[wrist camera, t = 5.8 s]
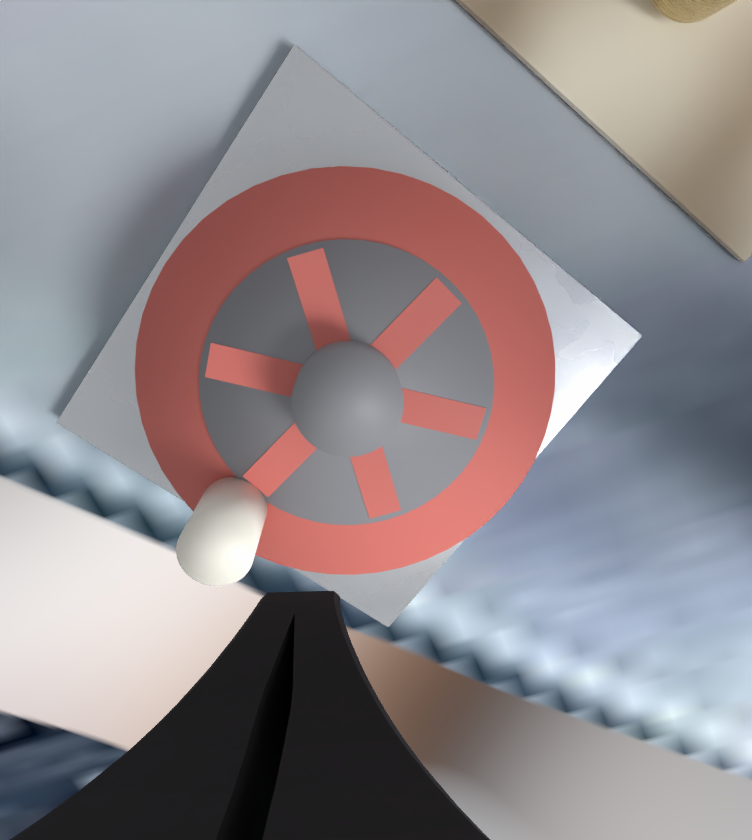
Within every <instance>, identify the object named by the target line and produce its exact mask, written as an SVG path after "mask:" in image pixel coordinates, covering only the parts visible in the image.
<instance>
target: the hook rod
mask: <svg viewBox="0 0 752 840" xmlns="http://www.w3.org/2000/svg"><path fill="white" fill-rule="evenodd" d="M652 1H653V3H654V4H655V6H656V8H657V9H658V10H659V11H660V12H661V13H662V14H663V15H664V16H665V17H667V18H669V19H670V20H673V21H675V22H679V23H695V22H699V21H702V20H704V19H706V18H708V17H710V16H712V15H713V14H715V13H717V12H719V11H720V10H722V9H724V8H725V7H727V6H729V5H731V4H732V3H734V2H736V1H737V0H652Z"/></svg>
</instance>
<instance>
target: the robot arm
mask: <svg viewBox="0 0 752 840" xmlns="http://www.w3.org/2000/svg"><path fill="white" fill-rule="evenodd" d="M11 840H490V839H489V838H488V837H487V836H486V835H485V834H484V833H483V832H482V831H481V830H480V829H479V828H478V827H477V826H476V825H475V824H474V823H473V822H472V821H471V820H470V818H469V817H468V816H467V815H466V814H465V813H464V812H463V811H462V810H461V809H460V808H459V807H458V806H457V805H456V804H455V802H454V801H453V800H452V799H451V798H450V796H449V795H448V794H447V793H446V792H445V791H444V789H443V788H442V787H441V786H440V785H439V784H438V782H437V781H436V780H435V779H434V778H433V776H432V775H431V774H430V773H429V772H428V770H426V768H425V767H424V766H423V765H422V763H421V762H420V760H419V759H418V758H417V756H416V755H415V754H414V752H413V751H412V750H411V748H410V747H409V746H408V744H407V743H406V741H405V740H404V738H403V737H402V735H401V734H400V733H399V731H398V730H397V728H396V727H395V725H394V724H393V722H392V720H391V719H390V717H389V716H388V714H387V712H386V711H385V710H384V707H383V706H382V704H381V702H380V701H379V699H378V697H377V695H376V693H375V691H374V690H373V688H372V686H371V684H370V682H369V681H368V678H367V676H366V675H365V672H364V670H363V668H362V666H361V664H360V662H359V659H358V657H357V655H356V653H355V650H354V648H353V646H352V643H351V640H350V638H349V635H348V632H347V629H346V626H345V623H344V620H343V616H342V612H341V606H340V596H339V595H338V594H337V593H336V592H335V591H311V592H276V593H267V594H266V595H265V596H264V597H263V598H262V599H261V600H260V602H259V603H258V605H257V606H256V607H255V609H254V610H253V612H252V613H251V615H250V616H249V618H248V619H247V620H246V622H245V623H244V625H243V626H242V627H241V629H240V630H239V631H238V633H237V634H236V635H235V637H234V638H233V639H232V641H231V642H230V643H229V644H228V646H227V647H226V648H225V649H224V651H223V652H222V653H221V654H220V656H219V657H218V658H217V659H216V661H215V662H214V663H213V664H212V666H211V667H210V668H209V669H208V670H207V671H206V673H205V674H204V675H203V676H202V677H201V678H200V679H199V681H198V682H197V683H196V684H195V685H194V686H193V687H192V688H191V689H190V691H189V692H188V693H187V694H186V695H185V696H184V697H183V698H182V699H181V700H180V702H179V703H178V704H177V705H176V706H175V707H174V708H173V709H172V710H171V711H170V712H169V713H168V714H167V715H166V716H165V717H164V718H163V719H162V720H161V721H160V722H159V723H158V724H157V725H156V726H155V727H154V728H153V729H152V730H151V731H150V732H148V733H147V734H146V735H145V736H144V737H143V738H142V739H141V740H140V741H139V742H138V743H137V744H136V745H134V746H133V747H132V748H131V749H130V750H129V751H128V752H126V753H125V754H124V755H123V756H122V757H121V758H119V759H118V760H117V761H116V762H114V763H113V764H112V765H111V766H109V767H108V768H107V769H106V770H105V771H103V772H102V773H101V774H100V775H98V776H97V777H96V778H95V779H93V780H92V781H91V782H90V783H88V784H87V785H86V786H85V787H83V788H82V789H81V790H80V791H78V792H77V793H76V794H74V795H73V796H72V797H70V798H69V799H68V800H66V801H65V802H64V803H62V804H61V805H59V806H58V807H57V808H55V809H54V810H53V811H51V812H50V813H48V814H47V815H46V816H44V817H43V818H41V819H40V820H38V821H37V822H35V823H34V824H33V825H31V826H30V827H28V828H27V829H25V830H24V831H22V832H21V833H19V834H18V835H16V836H15V837H13V838H12V839H11Z"/></svg>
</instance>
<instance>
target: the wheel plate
mask: <svg viewBox="0 0 752 840" xmlns="http://www.w3.org/2000/svg"><path fill="white" fill-rule="evenodd" d="M336 166H350V167H366V168H376V169H380V170H385V171H390V172H395V173H400V174H404V175H407V176H409V177H412V178H415V179H418V180H421V181H423V182H426V183H429V184H432V185H433V186H435V187H437V188H439V189H441V190H443V191H445V192H447V193H449V194H451V195H453V196H454V197H456V198H458V199H459V200H461V201H462V202H464V203H465V204H466V205H468V206H469V207H471V208H472V209H473V210H475V211H476V212H478V213H479V214H480V215H482V216H483V217H484V218H485V219H486V220H487V221H488V222H489V223H490V224H491V225H492V226H493V227H494V228H495V229H496V230H497V231H498V232H499V233H501V234H502V235H503V237H504V238H505V239H506V240H507V242H508V243H509V244H510V245H511V247H512V248H513V249H514V251H515V252H516V253H517V254H518V256H519V257H520V258H521V260H522V262H523V263H524V265H525V267H526V268H527V270H528V272H529V273H530V275H531V277H532V279H533V280H534V282H535V284H536V287H537V289H538V292H539V294H540V296H541V299H542V301H543V304H544V306H545V309H546V313H547V316H548V320H549V324H550V328H551V332H552V337H553V345H554V353H555V391H554V398H553V405H552V412H551V416H550V419H549V423H548V427H547V430H546V434H545V437H544V440H543V442H542V444H541V447H540V449H539V451H538V454H537V456H538V455H539V454H540V453H541V451H542V450H543V449H544V448H545V447H546V446H547V445H548V443H549V442H550V441H551V440H552V439H553V438H554V437H555V435H556V434H557V433H558V432H559V431H560V430H561V428H562V427H563V426H564V425H565V424H566V423H567V422H568V420H569V419H570V418H571V417H572V416H573V415H574V414H575V412H576V411H577V410H578V409H579V408H580V407H581V406H582V404H583V403H584V402H585V401H586V400H587V399H588V398H589V396H590V395H591V394H592V393H593V392H594V391H595V389H596V388H597V387H598V386H599V385H600V384H601V383H602V381H603V380H604V379H605V378H606V377H607V376H608V375H609V373H610V372H611V371H612V370H613V369H614V368H615V367H616V365H617V364H618V363H619V362H620V361H621V360H622V359H623V357H624V356H625V355H626V354H627V353H628V352H629V350H630V349H631V348H632V347H633V346H634V345H635V344H636V342H637V341H638V340H639V339H640V338H641V337H642V335H641V334H640V333H639V332H637V331H636V330H635V329H634V328H633V327H631V326H630V325H629V324H628V323H627V322H625V321H624V320H623V319H622V318H621V317H619V316H618V315H617V314H616V313H615V312H614V311H612V310H611V309H610V308H609V307H608V306H606V305H605V304H604V303H603V302H602V301H600V300H599V299H598V298H597V297H596V296H594V295H593V294H592V293H591V292H590V291H588V290H587V289H586V288H585V287H584V286H582V285H581V284H580V283H579V282H578V281H576V280H575V279H574V278H573V277H572V276H571V275H569V274H568V273H567V272H566V271H565V270H563V269H562V268H561V267H560V266H559V265H557V264H556V263H555V262H554V261H553V260H551V259H550V258H549V257H548V256H547V255H545V254H544V253H543V252H542V251H541V250H539V249H538V248H537V247H536V246H535V245H533V244H532V243H531V242H530V241H529V240H528V239H526V238H525V237H524V236H523V235H522V234H520V233H519V232H518V231H517V230H516V229H514V228H513V227H512V226H511V225H510V224H508V223H507V222H506V221H505V220H504V219H502V218H501V217H500V216H499V215H498V214H496V213H495V212H494V211H493V210H492V209H490V208H489V207H488V206H487V205H486V204H485V203H483V202H482V201H481V200H480V199H479V198H477V197H476V196H475V195H474V194H473V193H471V192H470V191H469V190H468V189H467V188H465V187H464V186H463V185H462V184H461V183H459V182H458V181H457V180H456V179H455V178H453V177H452V176H451V175H450V174H449V173H448V172H446V171H445V170H444V169H443V168H442V167H440V166H439V165H438V164H437V163H436V162H434V161H433V160H432V159H431V158H430V157H428V156H427V155H426V154H425V153H424V152H422V151H421V150H420V149H419V148H418V147H416V146H415V145H414V144H413V143H412V142H410V141H409V140H408V139H407V138H406V137H405V136H403V135H402V134H401V133H400V132H399V131H397V130H396V129H395V128H394V127H393V126H391V125H390V124H389V123H388V122H387V121H385V120H384V119H383V118H382V117H381V116H379V115H378V114H377V113H376V112H375V111H373V110H372V109H371V108H370V107H369V106H367V105H366V104H365V103H364V102H363V101H362V100H360V99H359V98H358V97H357V96H356V95H354V94H353V93H352V92H351V91H350V90H348V89H347V88H346V87H345V86H344V85H342V84H341V83H340V82H339V81H338V80H336V79H335V78H334V77H333V76H332V75H330V74H329V73H328V72H327V71H326V70H324V69H323V68H322V67H321V66H320V65H319V64H317V63H316V62H315V61H314V60H313V59H311V58H310V57H309V56H308V55H307V54H305V53H304V52H303V51H302V50H301V49H299V48H298V47H297V46H296V45H295V44H294V46H293V47H292V49H291V50H290V52H289V54H288V55H287V57H286V58H285V60H284V62H283V63H282V65H281V66H280V68H279V70H278V71H277V73H276V74H275V76H274V77H273V79H272V81H271V82H270V84H269V85H268V87H267V89H266V90H265V92H264V93H263V95H262V97H261V98H260V100H259V101H258V103H257V104H256V106H255V108H254V109H253V111H252V112H251V114H250V116H249V117H248V119H247V120H246V122H245V124H244V125H243V127H242V128H241V130H240V131H239V133H238V135H237V136H236V138H235V139H234V141H233V143H232V144H231V146H230V147H229V149H228V151H227V152H226V154H225V155H224V157H223V158H222V160H221V162H220V163H219V165H218V166H217V168H216V170H215V171H214V173H213V174H212V176H211V178H210V179H209V181H208V182H207V184H206V185H205V187H204V189H203V190H202V192H201V193H200V195H199V197H198V198H197V200H196V201H195V203H194V205H193V206H192V208H191V209H190V211H189V212H188V214H187V216H186V217H185V219H184V220H183V222H182V224H181V225H180V227H179V228H178V230H177V232H176V233H175V235H174V236H173V238H172V239H171V241H170V243H169V244H168V246H167V247H166V249H165V251H164V252H163V254H162V255H161V257H160V259H159V260H158V262H157V263H156V265H155V267H154V268H153V270H152V271H151V273H150V274H149V276H148V278H147V279H146V281H145V282H144V284H143V286H142V287H141V289H140V290H139V292H138V294H137V295H136V297H135V298H134V300H133V301H132V303H131V305H130V306H129V308H128V309H127V311H126V313H125V314H124V316H123V317H122V319H121V321H120V322H119V324H118V325H117V327H116V328H115V330H114V332H113V333H112V335H111V336H110V338H109V340H108V341H107V343H106V344H105V346H104V348H103V349H102V351H101V352H100V354H99V355H98V357H97V359H96V360H95V362H94V363H93V365H92V367H91V368H90V370H89V371H88V373H87V375H86V376H85V378H84V379H83V381H82V382H81V384H80V386H79V387H78V389H77V390H76V392H75V394H74V395H73V397H72V398H71V400H70V402H69V403H68V405H67V406H66V408H65V409H64V411H63V413H62V414H61V416H60V417H59V419H58V421H57V423H58V424H60V425H61V426H63V427H65V428H66V429H68V430H69V431H71V432H73V433H74V434H76V435H78V436H79V437H81V438H82V439H84V440H86V441H87V442H89V443H91V444H92V445H94V446H95V447H97V448H99V449H100V450H102V451H104V452H105V453H107V454H108V455H110V456H112V457H113V458H115V459H116V460H118V461H120V462H121V463H123V464H125V465H126V466H128V467H129V468H131V469H133V470H134V471H136V472H138V473H139V474H141V475H142V476H144V477H146V478H147V479H149V480H151V481H152V482H154V483H155V484H157V485H159V486H160V487H162V488H163V489H165V490H167V491H168V492H170V493H172V494H173V495H175V496H176V497H178V498H180V499H181V500H183V499H182V498H181V497H180V496H179V494H178V493H177V492H176V491H175V489H174V488H173V486H172V485H171V483H170V482H169V480H168V479H167V477H166V476H165V474H164V473H163V471H162V469H161V467H160V465H159V463H158V461H157V459H156V457H155V455H154V454H153V452H152V450H151V448H150V445H149V442H148V439H147V436H146V433H145V430H144V427H143V425H142V421H141V416H140V411H139V407H138V402H137V397H136V383H135V356H136V342H137V337H138V332H139V328H140V323H141V318H142V314H143V311H144V308H145V306H146V303H147V300H148V298H149V295H150V292H151V289H152V287H153V285H154V283H155V281H156V280H157V278H158V276H159V274H160V272H161V270H162V268H163V267H164V265H165V263H166V262H167V260H168V259H169V257H170V256H171V255H172V253H173V252H174V251H175V249H176V248H177V247H178V245H179V244H180V242H181V241H182V240H183V239H184V238H185V237H186V236H187V235H188V234H189V233H190V232H191V231H192V230H193V229H194V228H195V227H196V226H197V225H198V223H199V222H200V221H201V220H202V219H203V218H205V217H206V216H207V215H209V214H210V213H211V212H213V211H214V210H215V209H217V208H218V207H219V206H221V205H222V204H223V203H225V202H226V201H227V200H229V199H231V198H233V197H234V196H236V195H238V194H240V193H242V192H243V191H245V190H247V189H249V188H251V187H252V186H255V185H257V184H260V183H263V182H265V181H268V180H270V179H273V178H276V177H278V176H281V175H285V174H289V173H294V172H298V171H302V170H307V169H311V168H323V167H336ZM537 456H536V457H537ZM183 501H184V500H183ZM464 540H465V539H464ZM464 540H462V541H461V542H459V543H457V544H456V545H454V546H453V547H451V548H449V549H448V550H446V551H443V552H441V553H439V554H437V555H435V556H433V557H430V558H428V559H426V560H423V561H420V562H417V563H414V564H411V565H408V566H405V567H402V568H398V569H393V570H388V571H383V572H378V573H367V574H356V575H342V574H324V573H317V572H310V571H303V570H299V569H295V568H293V569H295V570H296V571H298V572H300V573H301V574H303V575H304V576H306V577H308V578H309V579H311V580H313V581H314V582H316V583H317V584H319V585H321V586H322V587H324V588H326V589H327V590H329V591H335V592H336V593H337V594H338V595H339V596H340V598H342V599H343V600H345V601H347V602H348V603H350V604H351V605H353V606H355V607H356V608H358V609H360V610H361V611H363V612H364V613H366V614H368V615H369V616H371V617H373V618H374V619H376V620H377V621H379V622H381V623H382V624H384V625H386V626H387V627H389V626H390V625H391V624H392V622H393V621H394V620H395V619H396V618H397V617H398V616H399V614H400V613H401V612H402V611H403V610H404V609H405V607H406V606H407V605H408V604H409V603H410V602H411V601H412V599H413V598H414V597H415V596H416V595H417V594H418V593H419V591H420V590H421V589H422V588H423V587H424V586H425V585H426V583H427V582H428V581H429V580H430V579H431V578H432V576H433V575H434V574H435V573H436V572H437V571H438V570H439V568H440V567H441V566H442V565H443V564H444V563H445V562H446V560H447V559H448V558H449V557H450V556H451V555H452V554H453V552H454V551H455V550H456V549H457V548H458V547H459V546H460V544H461V543H462V542H463V541H464Z"/></svg>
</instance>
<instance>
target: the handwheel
mask: <svg viewBox="0 0 752 840" xmlns="http://www.w3.org/2000/svg"><path fill="white" fill-rule="evenodd" d="M135 383H136V397H137V402H138V407H139V411H140V416H141V421H142V425H143V427H144V430H145V433H146V436H147V439H148V442H149V445H150V448H151V450H152V452H153V454H154V455H155V457H156V459H157V461H158V463H159V465H160V467H161V469H162V471H163V473H164V474H165V476H166V477H167V479H168V480H169V482H170V483H171V485H172V486H173V488H174V489H175V491H176V492H177V493H178V494H179V496H180V497H181V498H182V499H183V500H184V501H185V502H186V504H187V505H188V506H189V507H190V508H191V509H192V510H193V513H192V515H191V517H190V519H189V521H188V522H187V524H186V526H185V528H184V530H183V531H182V533H181V535H180V537H179V539H178V542H177V547H176V554H177V559H178V562H179V564H180V566H181V567H182V569H183V570H184V571H185V573H186V574H187V575H188V576H190V577H191V578H192V579H194V580H195V581H197V582H200V583H202V584H205V585H209V586H225V585H229V584H232V583H235V582H237V581H238V580H240V579H241V578H243V577H244V576H245V575H246V574H247V573H248V571H249V570H250V568H251V566H252V563H253V560H254V556H255V555H257V556H259V557H262V558H264V559H267V560H270V561H272V562H275V563H277V564H280V565H284V566H288V567H291V568H295V569H299V570H303V571H310V572H317V573H324V574H342V575H356V574H367V573H378V572H383V571H388V570H393V569H398V568H402V567H405V566H408V565H411V564H414V563H417V562H420V561H423V560H426V559H428V558H430V557H433V556H435V555H437V554H439V553H441V552H443V551H446V550H448V549H449V548H451V547H453V546H454V545H456V544H457V543H459V542H461V541H462V540H464V539H466V538H467V537H469V536H470V535H471V534H473V533H474V532H475V531H476V530H478V529H479V528H480V527H481V526H483V525H484V524H485V523H486V522H488V521H489V520H490V519H491V518H492V517H493V516H494V515H495V514H496V513H497V512H498V511H499V510H500V509H501V508H502V507H503V506H504V505H505V504H506V503H507V501H508V500H509V499H510V497H511V496H512V495H513V493H514V492H515V491H516V490H517V488H518V487H519V486H520V484H521V483H522V481H523V480H524V478H525V476H526V475H527V473H528V471H529V469H530V468H531V466H532V464H533V463H534V461H535V458H536V456H537V454H538V451H539V449H540V447H541V444H542V442H543V440H544V437H545V434H546V430H547V427H548V423H549V419H550V416H551V412H552V405H553V398H554V391H555V353H554V345H553V337H552V332H551V328H550V324H549V320H548V316H547V313H546V309H545V306H544V304H543V301H542V299H541V296H540V294H539V292H538V289H537V287H536V284H535V282H534V280H533V279H532V277H531V275H530V273H529V272H528V270H527V268H526V267H525V265H524V263H523V262H522V260H521V258H520V257H519V256H518V254H517V253H516V252H515V251H514V249H513V248H512V247H511V245H510V244H509V243H508V242H507V240H506V239H505V238H504V237H503V235H502V234H501V233H499V232H498V231H497V230H496V229H495V228H494V227H493V226H492V225H491V224H490V223H489V222H488V221H487V220H486V219H485V218H484V217H483V216H482V215H480V214H479V213H478V212H476V211H475V210H473V209H472V208H471V207H469V206H468V205H466V204H465V203H464V202H462V201H461V200H459V199H458V198H456V197H454V196H453V195H451V194H449V193H447V192H445V191H443V190H441V189H439V188H437V187H435V186H433V185H432V184H429V183H426V182H423V181H421V180H418V179H415V178H412V177H409V176H407V175H404V174H400V173H395V172H390V171H385V170H380V169H376V168H366V167H350V166H336V167H323V168H311V169H307V170H302V171H298V172H294V173H289V174H285V175H281V176H278V177H276V178H273V179H270V180H268V181H265V182H263V183H260V184H257V185H255V186H252V187H251V188H249V189H247V190H245V191H243V192H242V193H240V194H238V195H236V196H234V197H233V198H231V199H229V200H227V201H226V202H225V203H223V204H222V205H221V206H219V207H218V208H217V209H215V210H214V211H213V212H211V213H210V214H209V215H207V216H206V217H205V218H203V219H202V220H201V221H200V222H199V223H198V225H197V226H196V227H195V228H194V229H193V230H192V231H191V232H190V233H189V234H188V235H187V236H186V237H185V238H184V239H183V240H182V241H181V242H180V244H179V245H178V247H177V248H176V249H175V251H174V252H173V253H172V255H171V256H170V257H169V259H168V260H167V262H166V263H165V265H164V267H163V268H162V270H161V272H160V274H159V276H158V278H157V280H156V281H155V283H154V285H153V287H152V289H151V292H150V295H149V298H148V300H147V303H146V306H145V308H144V311H143V314H142V318H141V323H140V328H139V332H138V337H137V342H136V356H135Z"/></svg>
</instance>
